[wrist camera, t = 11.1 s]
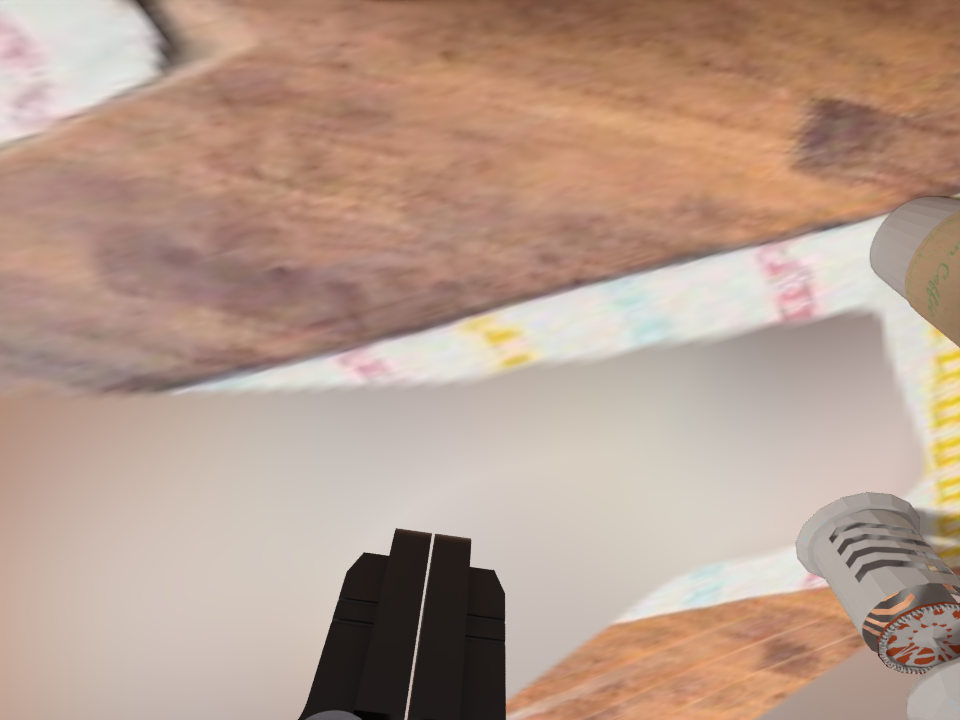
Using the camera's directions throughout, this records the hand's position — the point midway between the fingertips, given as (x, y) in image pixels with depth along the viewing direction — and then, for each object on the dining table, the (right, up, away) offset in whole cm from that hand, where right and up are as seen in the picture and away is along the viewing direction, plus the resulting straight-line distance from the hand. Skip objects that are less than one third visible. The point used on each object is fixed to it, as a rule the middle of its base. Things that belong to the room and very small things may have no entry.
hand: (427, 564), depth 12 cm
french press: (+33, -11, +37) cm, 51 cm away
